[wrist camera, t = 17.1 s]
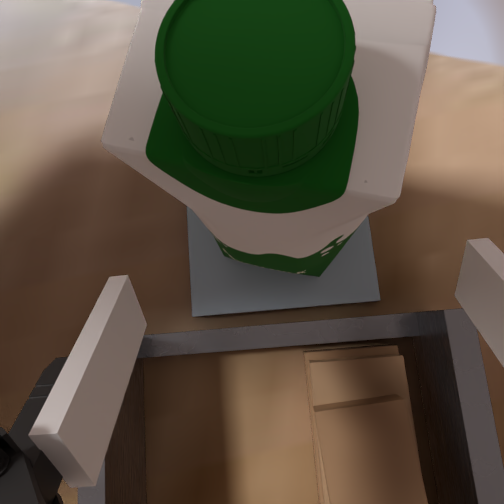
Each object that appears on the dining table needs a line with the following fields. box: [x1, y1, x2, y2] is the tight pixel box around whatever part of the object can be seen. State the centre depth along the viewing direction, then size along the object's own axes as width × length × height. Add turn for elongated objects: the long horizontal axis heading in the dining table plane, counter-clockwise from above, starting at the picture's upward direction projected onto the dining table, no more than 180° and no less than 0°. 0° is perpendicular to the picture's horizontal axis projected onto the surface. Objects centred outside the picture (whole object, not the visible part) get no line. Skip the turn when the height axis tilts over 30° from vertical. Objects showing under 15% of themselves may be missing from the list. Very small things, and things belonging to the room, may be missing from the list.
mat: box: [187, 206, 380, 317], centre depth 28 cm, size 13×13×1 cm
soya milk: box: [101, 0, 436, 277], centre depth 18 cm, size 9×9×20 cm
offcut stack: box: [303, 344, 428, 504], centre depth 22 cm, size 6×16×5 cm, turn 5°
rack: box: [78, 308, 504, 504], centre depth 22 cm, size 22×20×6 cm
